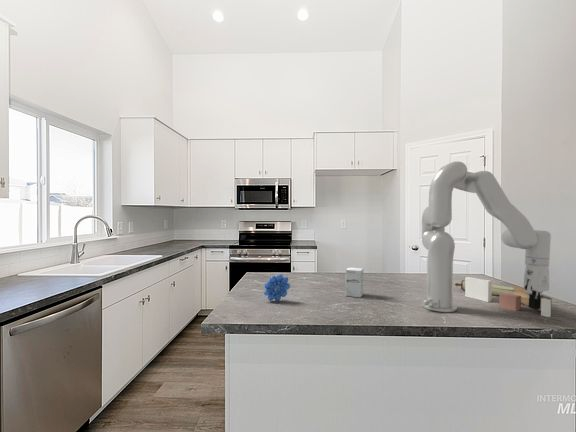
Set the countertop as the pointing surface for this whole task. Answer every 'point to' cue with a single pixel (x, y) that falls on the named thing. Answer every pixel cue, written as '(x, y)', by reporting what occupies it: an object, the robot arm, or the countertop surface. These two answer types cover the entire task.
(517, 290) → the door
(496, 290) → the rolling pin
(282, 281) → the grapes
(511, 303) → the block
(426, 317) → the countertop surface
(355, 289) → the supplement box
